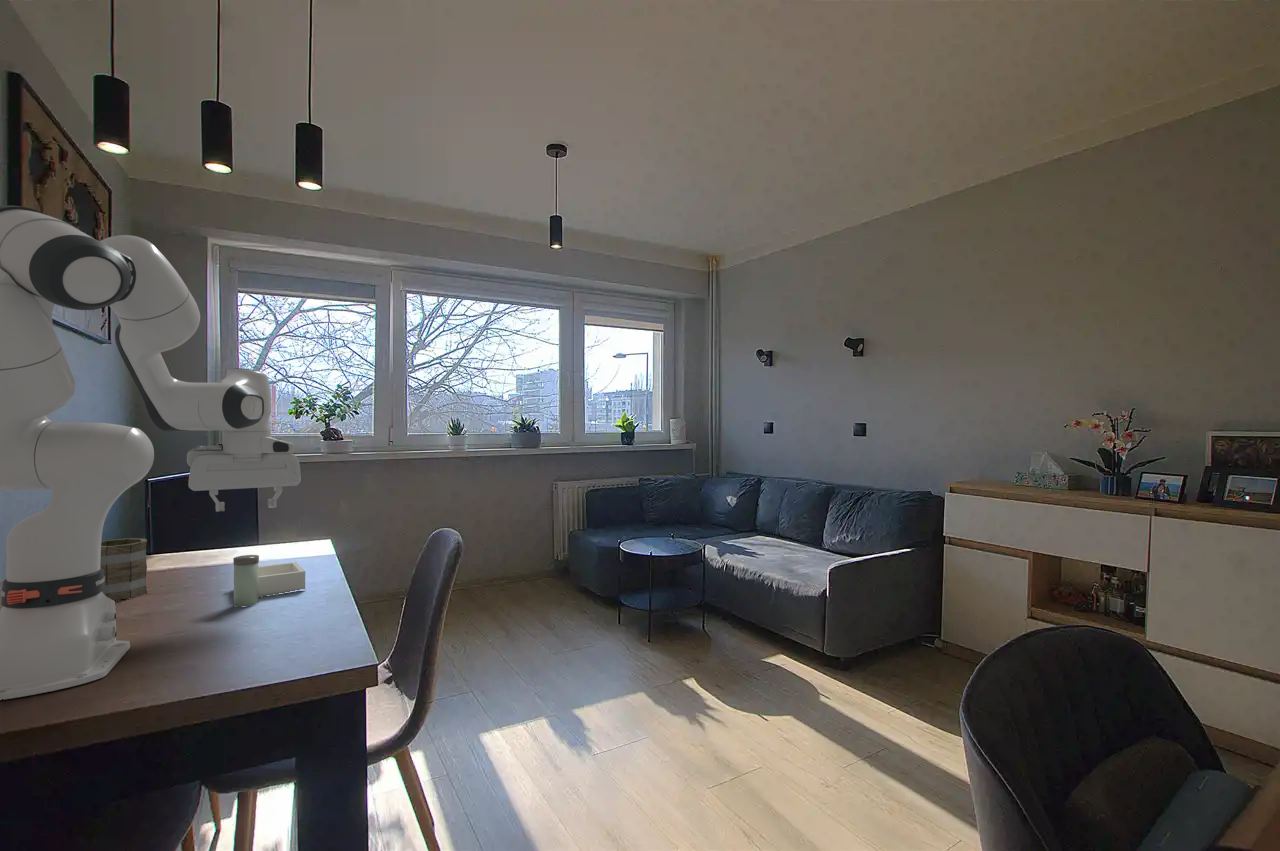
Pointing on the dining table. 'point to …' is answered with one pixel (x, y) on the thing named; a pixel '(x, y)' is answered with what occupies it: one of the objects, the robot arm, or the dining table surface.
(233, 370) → the robot arm
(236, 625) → the dining table surface
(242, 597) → the spice jar
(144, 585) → the mug
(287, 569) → the bin
